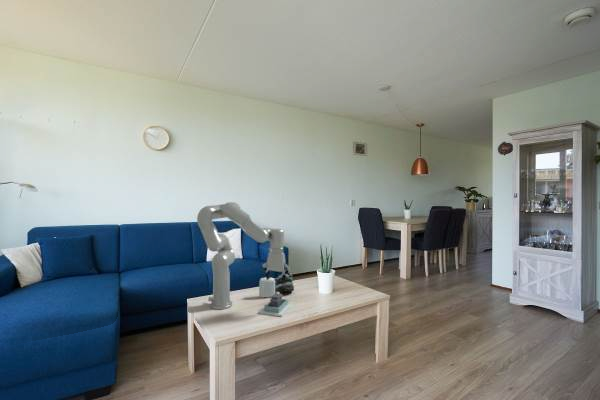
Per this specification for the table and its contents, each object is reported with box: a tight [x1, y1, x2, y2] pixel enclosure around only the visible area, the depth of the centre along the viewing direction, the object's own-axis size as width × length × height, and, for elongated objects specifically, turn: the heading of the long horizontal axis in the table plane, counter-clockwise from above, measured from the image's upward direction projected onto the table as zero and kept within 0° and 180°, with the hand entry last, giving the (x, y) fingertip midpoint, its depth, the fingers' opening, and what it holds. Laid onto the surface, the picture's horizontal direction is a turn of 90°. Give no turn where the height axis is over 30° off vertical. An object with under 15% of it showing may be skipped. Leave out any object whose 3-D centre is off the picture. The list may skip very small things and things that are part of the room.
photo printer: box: [258, 277, 275, 298], centre depth 186 cm, size 10×4×12 cm, turn 98°
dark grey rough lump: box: [274, 272, 295, 294], centre depth 196 cm, size 15×12×14 cm
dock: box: [258, 298, 294, 318], centre depth 166 cm, size 14×18×4 cm
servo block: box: [269, 292, 284, 308], centre depth 166 cm, size 4×10×8 cm, turn 162°
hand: (275, 280), depth 166 cm, fingers open, 9 cm apart
